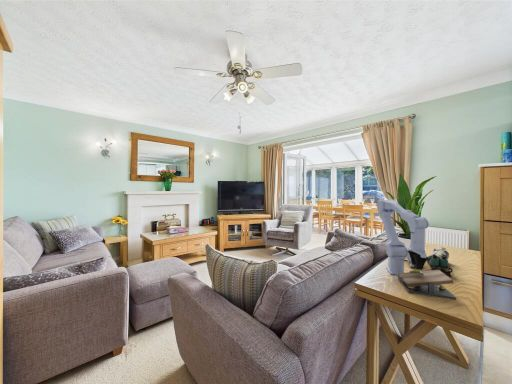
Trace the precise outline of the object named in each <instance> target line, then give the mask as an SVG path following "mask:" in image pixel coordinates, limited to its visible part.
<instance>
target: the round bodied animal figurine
mask: <svg viewBox="0 0 512 384" xmlns="http://www.w3.org/2000/svg"><path fill="white" fill-rule="evenodd" d="M406 259H407V262H408V266H409V267H410V268H415V266H416V265H412V262H411V258H410V255H409V253H408V256H407V257H406Z"/></svg>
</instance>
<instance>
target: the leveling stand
mask: <svg viewBox="0 0 512 384" xmlns="http://www.w3.org/2000/svg"><path fill="white" fill-rule="evenodd" d="M397 280H398V281H399V282H400V284H401V285H402V286H403V287H404V289H405V290H406V291H407V293H408V294H413V295H420V296H426V297H427V296H429V297H436V298H442V299H449V300H457V297H456V296H455V294H453V293H451V291H449V290H448V289H447V288H446V286H445V285H443V284H439V285H434V284H431V283H428V285H425V286H411V287H408V286H407V285H406V283H405V282H404V281H403V280H402V279H401V277H400V276H398V277H397Z"/></svg>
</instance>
